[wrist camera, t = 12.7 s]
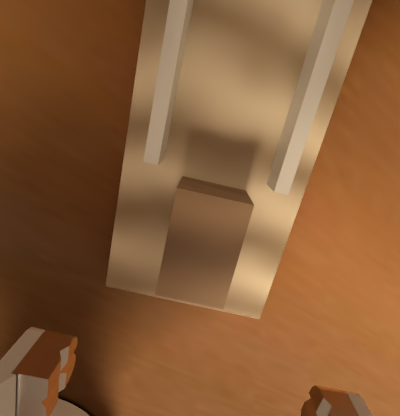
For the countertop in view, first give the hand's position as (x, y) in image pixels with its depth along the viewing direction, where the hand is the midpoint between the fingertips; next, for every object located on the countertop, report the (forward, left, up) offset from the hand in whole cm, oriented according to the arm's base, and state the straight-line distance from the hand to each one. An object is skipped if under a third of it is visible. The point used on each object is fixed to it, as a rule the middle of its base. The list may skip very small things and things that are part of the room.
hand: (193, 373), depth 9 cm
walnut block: (0, 0, -13) cm, 13 cm away
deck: (+10, 0, -15) cm, 18 cm away
